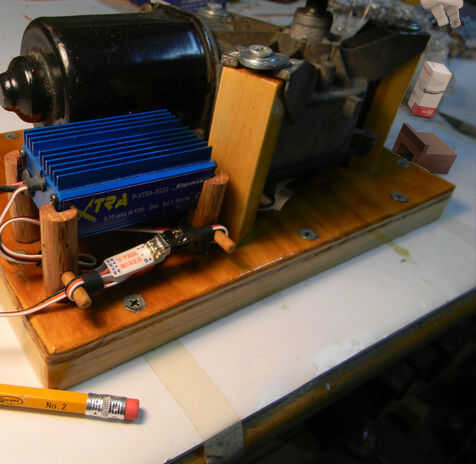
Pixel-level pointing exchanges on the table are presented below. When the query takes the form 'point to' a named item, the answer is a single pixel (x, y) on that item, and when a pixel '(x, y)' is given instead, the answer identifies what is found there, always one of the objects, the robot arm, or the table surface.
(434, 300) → the table surface
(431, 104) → the ink box
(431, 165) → the dark brown wooden box
